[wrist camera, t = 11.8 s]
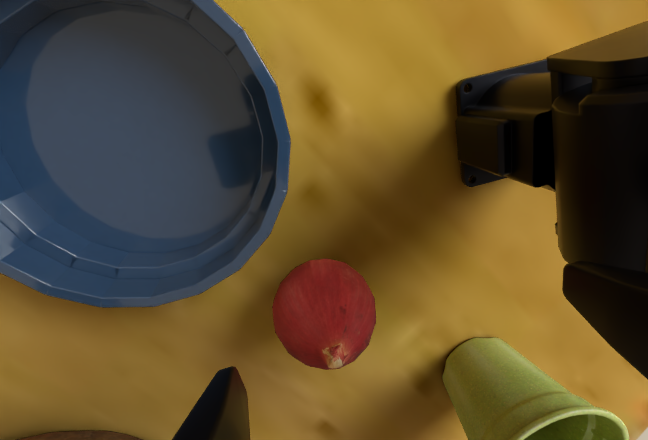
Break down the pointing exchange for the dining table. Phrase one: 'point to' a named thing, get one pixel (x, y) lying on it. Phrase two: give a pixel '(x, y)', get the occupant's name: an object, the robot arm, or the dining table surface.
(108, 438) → the ceramic vessel
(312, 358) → the onion
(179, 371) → the dining table surface
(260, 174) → the bowl
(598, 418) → the plant pot
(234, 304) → the dining table surface
